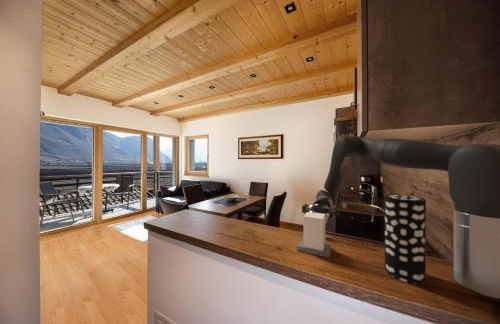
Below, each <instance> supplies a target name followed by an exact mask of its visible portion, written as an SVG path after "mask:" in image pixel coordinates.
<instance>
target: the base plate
mask: <svg viewBox="0 0 500 324" xmlns="http://www.w3.org/2000/svg"><path fill="white" fill-rule="evenodd" d="M296 251H297V252H301V253H305V254H309V255H314V256H320V257H324V258H328V259H330V257H331V252H332V243H329V242H325V246H324V250H323V251H321V250H316V249H311V248H306V247H304V238H301V239H300V240H299V242H298V243H297V245H296Z"/></svg>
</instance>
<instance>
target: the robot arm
mask: <svg viewBox="0 0 500 324" xmlns="http://www.w3.org/2000/svg"><path fill="white" fill-rule="evenodd" d="M351 157H368V158H373V159H375V160H376V161H378V162H380V163H382V164H385V165H388V166H393V167H399V168H406V169H407V168H408V169H418V170H419V169H420V170H436V171H437V170H439V171H445V172H447V174H448V175H447V176H448V192H449V198H450V200H451V201H452V202H453V278H454V280H455V281H456V282H457V283H458V284H460V285H462V286H463V287H465V288H466V289H469V290H471V291H473V292H476V293H478V294H480V295H483V296H486V297H490V298H493V299H498V298H499V300H500V144H497V143H496V144H492V143H491V144H490V143H488V144H487V143H486V144H485V143H484V144H483V143H474V144H472V143H471V144H466V145H459V144H457V145H455V144H454V145H453V144H442V143H436V142H431V141H424V140H415V139H406V138H378V139H377V138H369V137H368V138H367V137H362V136H359V135H347V136H345V135H343V136H339V137H338V138H337V139H336V140H335V141H334V144H333V149H332V154H331V159H330V160H331V161H330V167H329V171H328V174H327V177H326V179H325V182H324V184H323V189H320V190H318V192H317V193H316V196H315V200H314V202H313V204H311V205H309V204H308V203H305V204H303V205H302V206H301V213H303V214H304V215H305V214H306V213H307V212H312V213H320V214H325V217H326V216H327V217H329V219H333V218H335V217H337V218H339V217H340V207H339V206H337V204H338V196H339V190H340V188H341V185H342V183H343V180H344V179H343V178H344V176H343V175H344V173H343V170H342V164H343V162H344V160H345V158H351ZM335 206H336V207H335Z"/></svg>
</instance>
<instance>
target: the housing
mask: <svg viewBox="0 0 500 324" xmlns="http://www.w3.org/2000/svg"><path fill="white" fill-rule="evenodd" d="M302 221H303V226H302V227H303V230H302V232H303V233H302V235H303V239H304V247H306V248H311V249H316V250H321V251H323V250H324V246H325V243H326V216H325V214H320V213H312V212H307V213H306V214H305V213H304V215H303V219H302Z"/></svg>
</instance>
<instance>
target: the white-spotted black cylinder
mask: <svg viewBox="0 0 500 324" xmlns="http://www.w3.org/2000/svg"><path fill="white" fill-rule="evenodd" d="M426 209H427V199H426V198H424V197H420V196H415V195H408V194H385V195H384V271H385V272H386V273H387V274H388V275H390V276H391V277H393V278H395V279H396V280H398V281H400V282H401V281H402V282H404V283H409V284H414V285H421V284H424V283H425V282H426V279H427V277H426V276H427V273H426V272H427V266H426V265H427V256H426V254H427V251H426V250H427V243H426V242H427V238H426V237H427V230H426V229H427V223H426V222H427V210H426Z"/></svg>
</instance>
